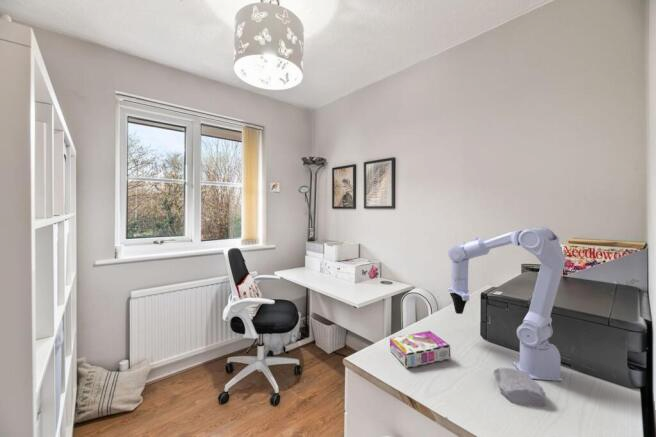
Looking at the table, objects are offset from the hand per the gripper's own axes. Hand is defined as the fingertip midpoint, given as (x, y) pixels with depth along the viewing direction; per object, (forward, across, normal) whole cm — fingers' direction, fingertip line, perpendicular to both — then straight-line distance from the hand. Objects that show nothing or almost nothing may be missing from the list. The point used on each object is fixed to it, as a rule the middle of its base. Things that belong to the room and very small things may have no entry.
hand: (458, 313), depth 104 cm
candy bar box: (+7, +10, -9) cm, 15 cm away
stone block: (+11, +27, +6) cm, 30 cm away
